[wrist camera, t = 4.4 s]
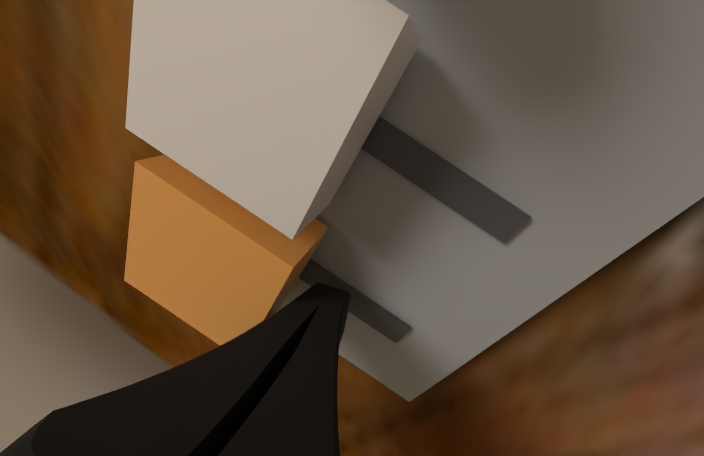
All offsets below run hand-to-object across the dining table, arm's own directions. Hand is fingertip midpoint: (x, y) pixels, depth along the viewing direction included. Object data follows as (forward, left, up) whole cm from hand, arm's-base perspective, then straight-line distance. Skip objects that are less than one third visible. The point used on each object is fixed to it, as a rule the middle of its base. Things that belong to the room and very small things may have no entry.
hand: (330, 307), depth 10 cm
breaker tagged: (+4, 0, -1) cm, 4 cm away
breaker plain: (+4, -6, -1) cm, 7 cm away
